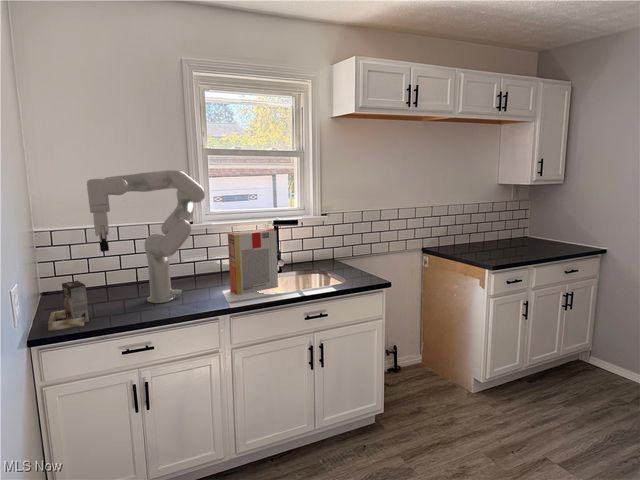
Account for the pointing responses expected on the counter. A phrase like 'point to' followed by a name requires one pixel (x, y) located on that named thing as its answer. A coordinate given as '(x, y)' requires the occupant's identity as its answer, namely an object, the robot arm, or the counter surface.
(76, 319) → the dock
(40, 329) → the counter surface
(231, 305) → the counter surface
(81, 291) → the coffee box
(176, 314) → the counter surface
